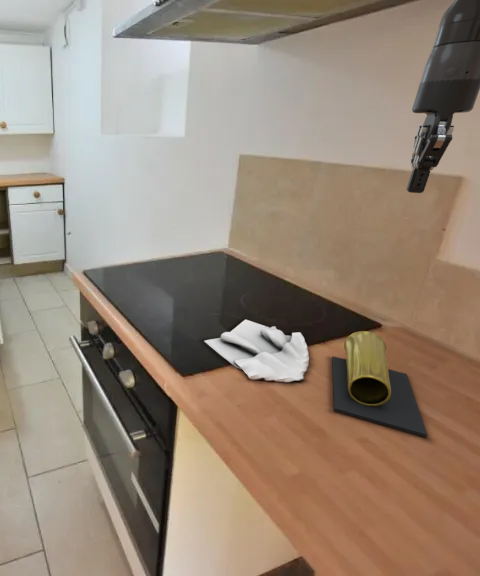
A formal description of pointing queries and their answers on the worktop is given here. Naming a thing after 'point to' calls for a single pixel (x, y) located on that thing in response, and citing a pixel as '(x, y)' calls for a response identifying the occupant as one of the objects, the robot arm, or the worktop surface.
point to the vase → (367, 368)
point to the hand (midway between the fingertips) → (414, 192)
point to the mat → (392, 414)
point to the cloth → (263, 352)
